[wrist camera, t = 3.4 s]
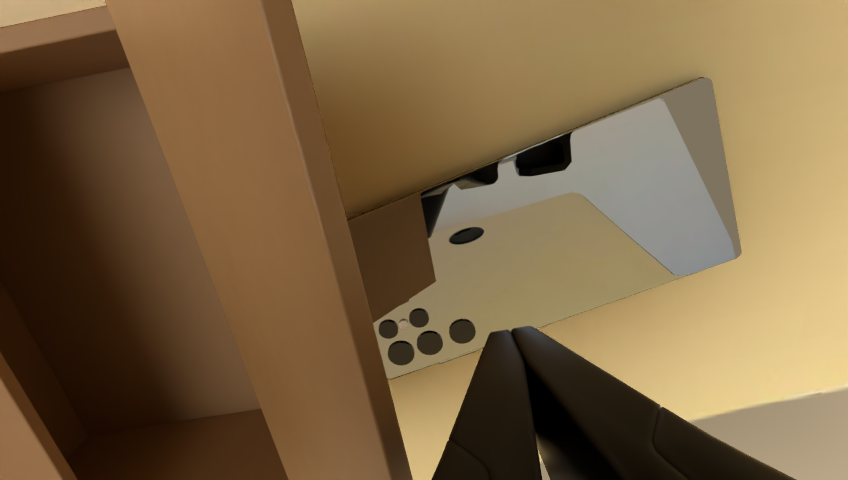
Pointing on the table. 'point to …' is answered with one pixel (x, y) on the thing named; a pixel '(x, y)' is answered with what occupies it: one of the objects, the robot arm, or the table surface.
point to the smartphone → (549, 230)
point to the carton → (106, 282)
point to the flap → (269, 223)
